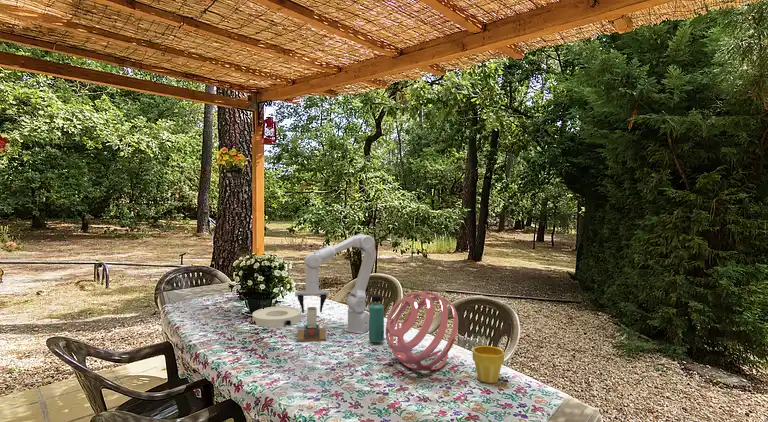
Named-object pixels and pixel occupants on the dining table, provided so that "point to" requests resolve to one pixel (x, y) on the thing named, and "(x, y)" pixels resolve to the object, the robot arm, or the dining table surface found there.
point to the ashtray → (276, 316)
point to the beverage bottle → (376, 320)
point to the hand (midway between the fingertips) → (311, 312)
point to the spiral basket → (404, 347)
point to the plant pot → (488, 363)
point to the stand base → (311, 334)
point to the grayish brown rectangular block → (311, 317)
